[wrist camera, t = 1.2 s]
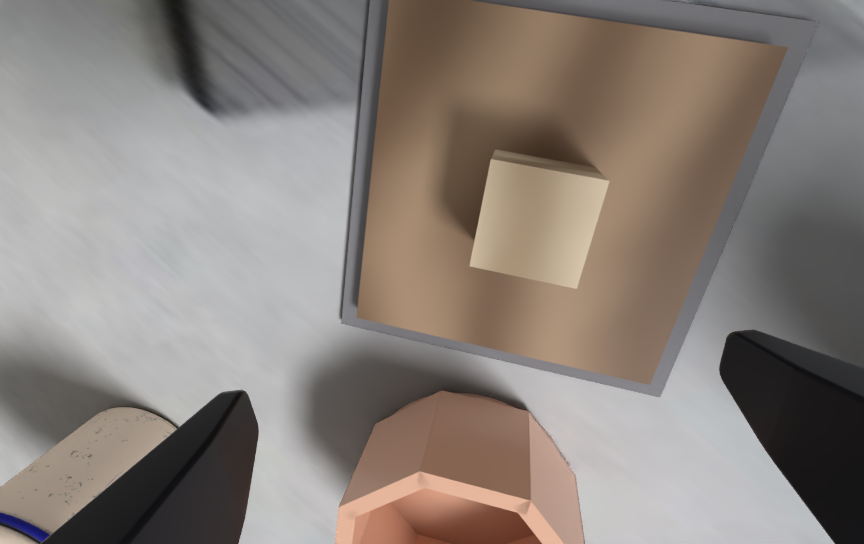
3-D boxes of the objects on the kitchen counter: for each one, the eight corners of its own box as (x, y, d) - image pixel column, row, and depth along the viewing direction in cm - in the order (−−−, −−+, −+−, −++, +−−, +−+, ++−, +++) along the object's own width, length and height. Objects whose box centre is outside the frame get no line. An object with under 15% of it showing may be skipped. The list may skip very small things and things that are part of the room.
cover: (776, 49, 16) (845, 37, 13) (645, 375, 22) (669, 429, 18) (395, -7, 18) (364, -32, 14) (361, 310, 23) (333, 349, 20)
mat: (814, 23, 16) (819, 21, 16) (658, 393, 22) (660, 397, 22) (375, -39, 18) (373, -41, 18) (343, 320, 24) (341, 323, 24)
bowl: (591, 421, 23) (613, 522, 18) (539, 565, 28) (544, 682, 22) (383, 371, 25) (344, 451, 19) (364, 516, 29) (327, 616, 23)
